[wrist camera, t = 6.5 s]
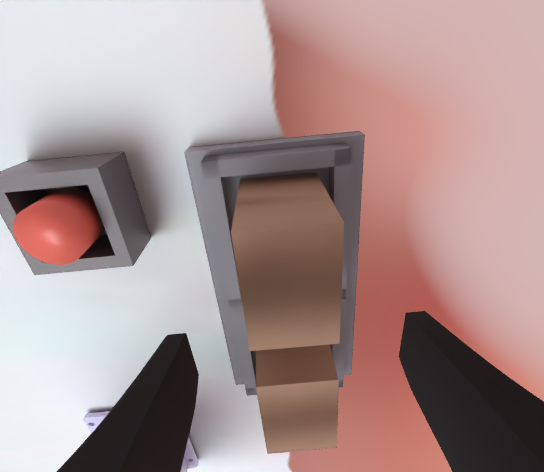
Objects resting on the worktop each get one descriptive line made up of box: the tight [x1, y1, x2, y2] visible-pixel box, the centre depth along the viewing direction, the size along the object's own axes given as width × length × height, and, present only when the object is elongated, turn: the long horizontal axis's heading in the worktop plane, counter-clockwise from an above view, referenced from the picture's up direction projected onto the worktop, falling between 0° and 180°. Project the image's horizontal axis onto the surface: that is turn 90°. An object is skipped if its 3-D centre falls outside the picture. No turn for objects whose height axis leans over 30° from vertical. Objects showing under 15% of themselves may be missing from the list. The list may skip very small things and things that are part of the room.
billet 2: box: [256, 345, 338, 454], centre depth 19 cm, size 6×4×6 cm, turn 5°
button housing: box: [0, 152, 151, 275], centre depth 16 cm, size 5×5×3 cm
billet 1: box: [231, 172, 344, 351], centre depth 15 cm, size 6×4×6 cm, turn 4°
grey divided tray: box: [184, 131, 365, 395], centre depth 19 cm, size 18×9×2 cm, turn 5°
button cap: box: [13, 187, 105, 265], centre depth 15 cm, size 3×3×2 cm
